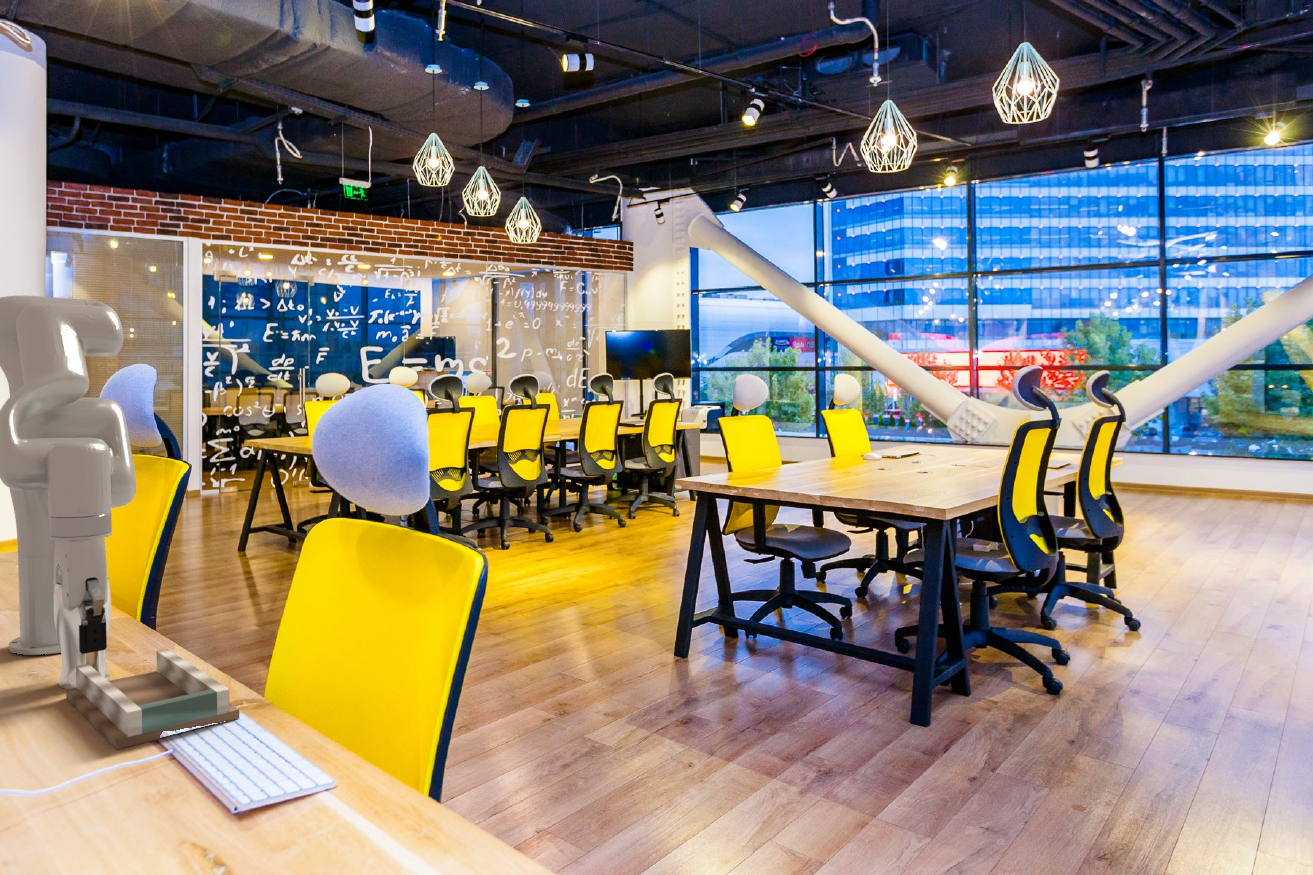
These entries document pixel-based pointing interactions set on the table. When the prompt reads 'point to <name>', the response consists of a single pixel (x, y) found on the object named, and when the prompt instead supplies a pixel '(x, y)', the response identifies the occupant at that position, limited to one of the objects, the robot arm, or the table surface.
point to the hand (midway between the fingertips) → (84, 644)
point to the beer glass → (76, 640)
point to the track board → (150, 701)
